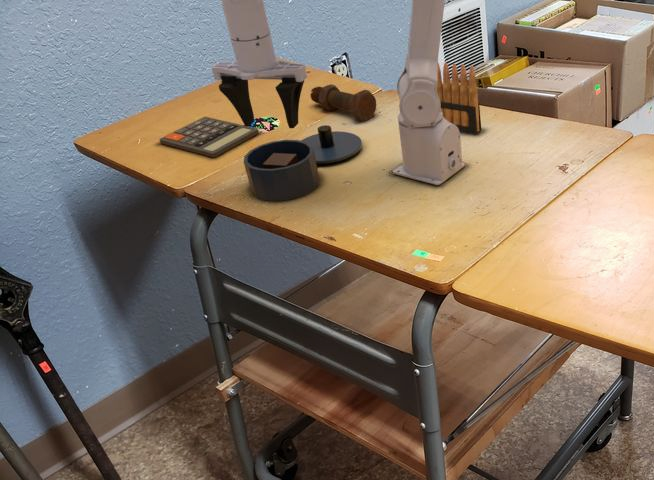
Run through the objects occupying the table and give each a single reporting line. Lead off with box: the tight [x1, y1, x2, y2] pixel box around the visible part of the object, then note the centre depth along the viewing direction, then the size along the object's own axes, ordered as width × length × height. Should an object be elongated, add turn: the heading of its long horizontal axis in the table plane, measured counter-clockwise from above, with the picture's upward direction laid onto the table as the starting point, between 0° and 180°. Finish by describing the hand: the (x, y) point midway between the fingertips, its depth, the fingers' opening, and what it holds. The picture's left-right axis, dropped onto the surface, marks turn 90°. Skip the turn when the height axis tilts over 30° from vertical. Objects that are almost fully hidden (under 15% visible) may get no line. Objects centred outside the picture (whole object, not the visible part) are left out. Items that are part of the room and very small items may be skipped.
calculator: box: [159, 116, 260, 158], centre depth 135 cm, size 12×1×15 cm
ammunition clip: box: [437, 61, 482, 135], centre depth 127 cm, size 11×2×12 cm, turn 60°
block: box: [263, 153, 298, 169], centre depth 117 cm, size 4×4×4 cm
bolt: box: [310, 83, 377, 122], centre depth 140 cm, size 6×5×15 cm
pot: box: [243, 139, 320, 202], centre depth 116 cm, size 11×11×5 cm
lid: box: [300, 124, 363, 165], centre depth 126 cm, size 12×12×4 cm
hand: (271, 124), depth 112 cm, fingers open, 7 cm apart
